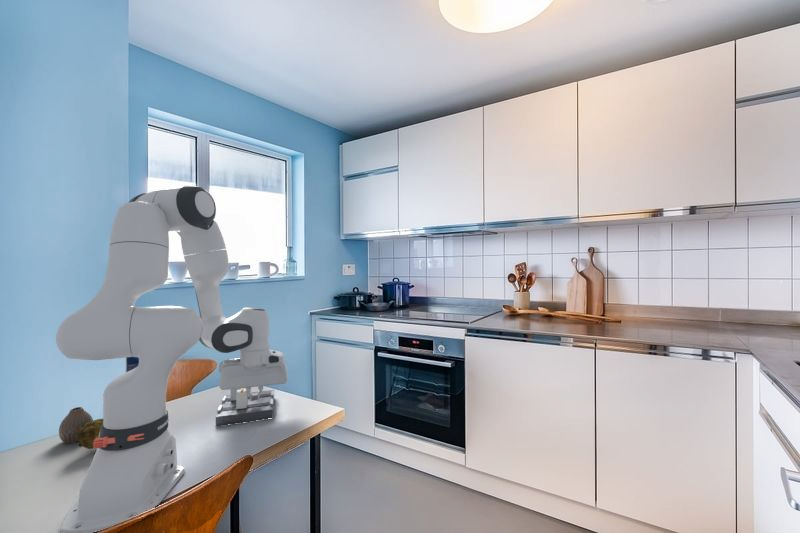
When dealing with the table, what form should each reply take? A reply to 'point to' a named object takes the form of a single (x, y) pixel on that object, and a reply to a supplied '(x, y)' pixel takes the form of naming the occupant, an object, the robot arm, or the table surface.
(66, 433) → the vase
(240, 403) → the fader
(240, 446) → the table surface
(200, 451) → the table surface
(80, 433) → the potato
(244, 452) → the table surface
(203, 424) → the table surface
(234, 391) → the fader
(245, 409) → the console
